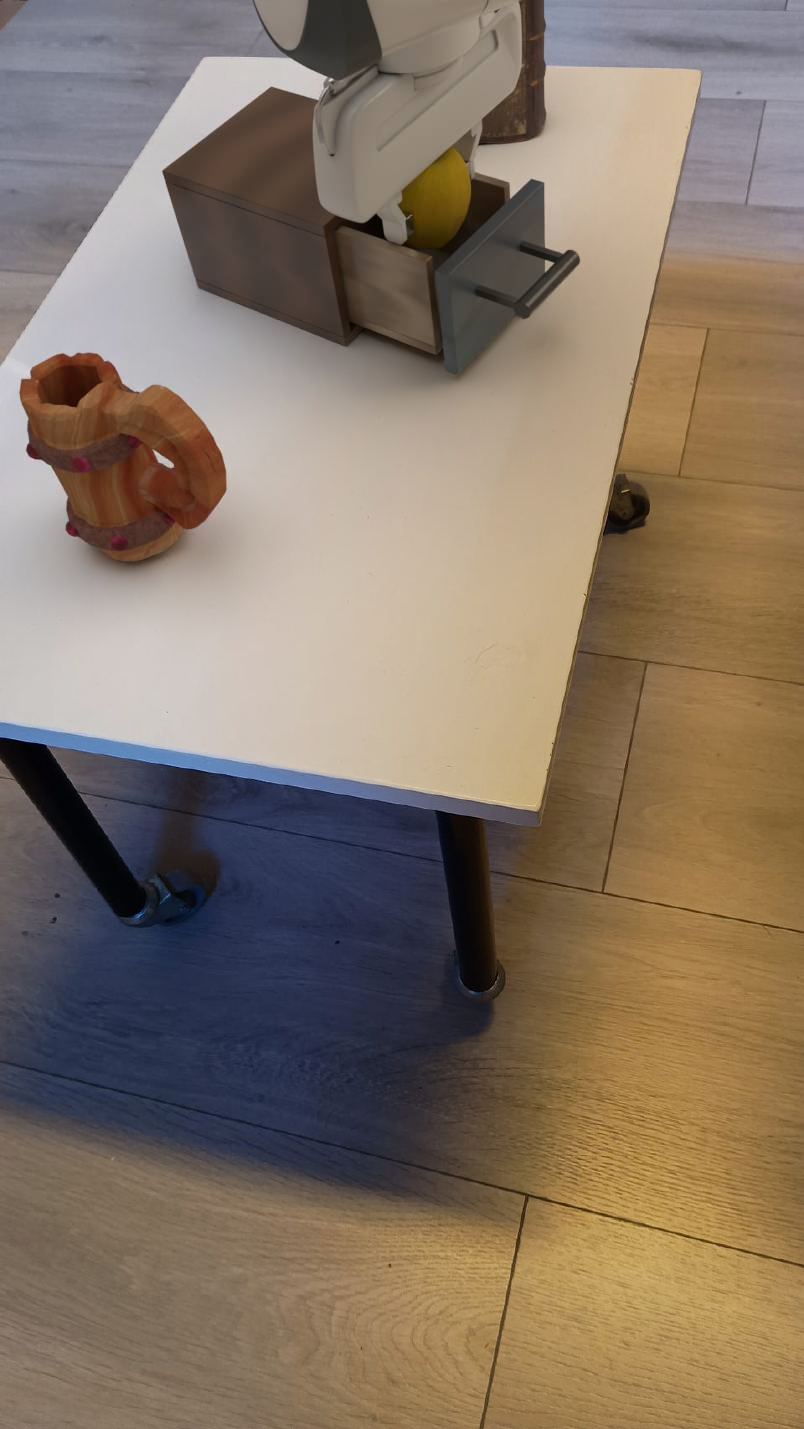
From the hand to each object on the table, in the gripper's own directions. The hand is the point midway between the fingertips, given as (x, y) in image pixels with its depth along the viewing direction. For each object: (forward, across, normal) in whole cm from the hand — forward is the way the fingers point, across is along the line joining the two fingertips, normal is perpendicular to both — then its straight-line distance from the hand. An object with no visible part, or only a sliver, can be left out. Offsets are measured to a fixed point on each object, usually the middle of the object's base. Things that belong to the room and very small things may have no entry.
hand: (431, 209), depth 84 cm
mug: (+10, -30, +3) cm, 32 cm away
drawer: (+9, 0, -1) cm, 9 cm away
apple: (+3, 0, 0) cm, 3 cm away
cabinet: (+10, 0, +13) cm, 16 cm away
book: (+10, +23, +14) cm, 29 cm away
